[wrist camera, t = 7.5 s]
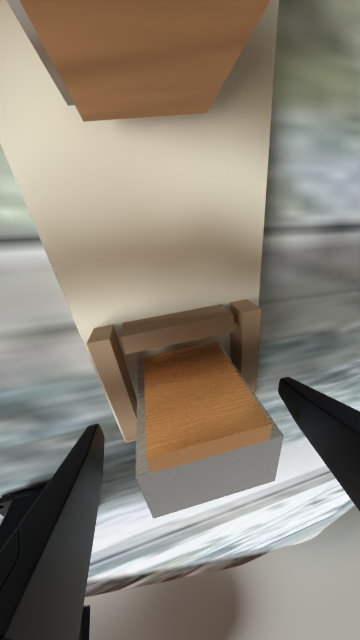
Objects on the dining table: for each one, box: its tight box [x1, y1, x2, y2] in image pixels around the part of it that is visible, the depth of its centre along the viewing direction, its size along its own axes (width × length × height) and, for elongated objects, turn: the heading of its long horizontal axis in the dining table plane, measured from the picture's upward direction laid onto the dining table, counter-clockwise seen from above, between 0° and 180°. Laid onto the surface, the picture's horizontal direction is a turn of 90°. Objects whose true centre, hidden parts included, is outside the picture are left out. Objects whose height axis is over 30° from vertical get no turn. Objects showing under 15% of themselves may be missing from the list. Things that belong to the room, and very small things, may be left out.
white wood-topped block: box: [135, 342, 283, 518], centre depth 9 cm, size 4×5×6 cm
